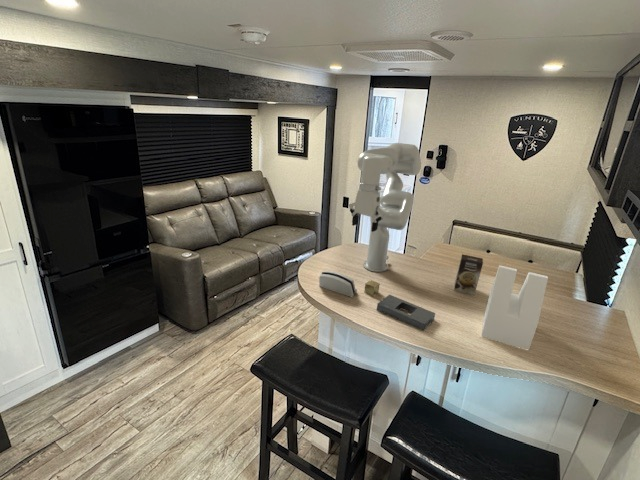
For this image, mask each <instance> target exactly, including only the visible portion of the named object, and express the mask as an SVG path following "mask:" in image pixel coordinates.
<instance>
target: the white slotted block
mask: <svg viewBox="0 0 640 480" xmlns="http://www.w3.org/2000/svg"><path fill="white" fill-rule="evenodd" d="M516 277H517V268H513V267H509V266H504V265H500V264H499V265H498V268H497V271H496V275H495V277H494V279H493V283H492V286H491V289H490V291H489V292H490V293H489V296H488V299H487V300H488V301H487V303H486V307H485V310H484V316H483V321H482V328H483V329H482V330H481V335H480V337H481V336H482V337H481V338H485V339H488V338H489V339H488V340H491V339H492V341H494V340H496V341H495V342H497V341H500V342H499V343H501V342H503V343H502V344H504V343H506V344H505V345H507V344H510V345H513V346H517V347H520V348H524V349H528V350H530V348H531V345H532V343H533V339H534V336H535V333H536V331H537V327H538V325H539V321H540V315H541V312H542V307H543V303H544V297H545V294H546V289H547V285H548V280H549V277H548V276H547V275H545V274H544V275H543V274H539V273H535V272H531V271H529V272H528V273H527V275H526V277H525V279H524V282H523V284H522V286H521V288H520V290H519V293H513V289H514V285H515V280H516ZM510 345H509V346H510ZM513 346H512V347H513ZM517 347H516V348H517ZM520 348H519V349H520Z"/></svg>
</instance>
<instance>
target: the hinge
mask: <svg viewBox="0 0 640 480" xmlns="http://www.w3.org/2000/svg"><path fill="white" fill-rule="evenodd" d="M318 279H319V283H318V284H319V287H321V288H324V289H327V290H330V291H333V292H336V293H339V294H341V295H346V296H348V297H350V298H353V297H354V296H355V294H356V293H357V291H358V290H357V289H356V285H355V282H354V280H353V279H352V278H351V277H349V276H347V275H345V274H343V273H340V272H336V271H334V270H333V271H332V270H323V271H322V272H321V273H320V274H319V278H318Z"/></svg>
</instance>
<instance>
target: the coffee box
mask: <svg viewBox="0 0 640 480" xmlns="http://www.w3.org/2000/svg"><path fill="white" fill-rule="evenodd" d="M483 265H484V259H483V258H482V257H476V256H473V255H468V254H463V253H462V254H461V257H460V260H459V265H458V267H457V273H456V277H455V281H454V285H453V291H456V292H460V293H464V294H469V295H473V296H474V295H475V294H476V291H477V287H478V284H479V279H480V277H481V272H482V268H483Z"/></svg>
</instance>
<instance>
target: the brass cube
mask: <svg viewBox="0 0 640 480" xmlns="http://www.w3.org/2000/svg"><path fill="white" fill-rule="evenodd" d="M379 290H380V282H377V281H374V280H372V279H370V280H368V281H367V282H365V284H364V290H363V291H364V293H365V294H367V295H369V296H373V297H374V296H375V295H377V294H378V293H379Z"/></svg>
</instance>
